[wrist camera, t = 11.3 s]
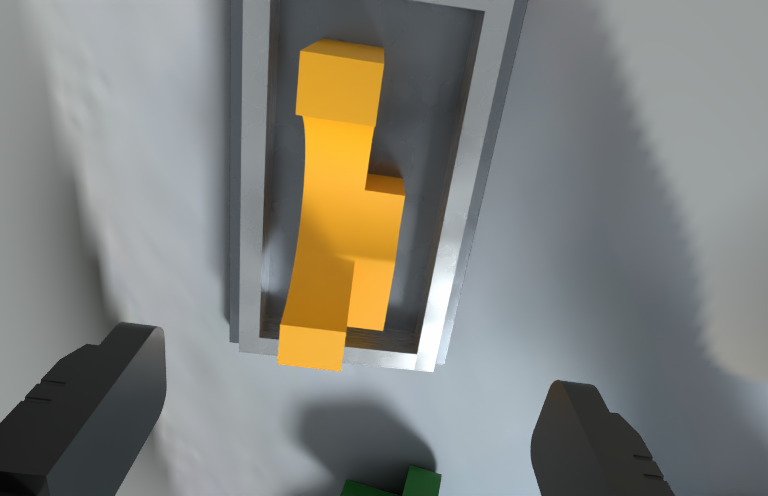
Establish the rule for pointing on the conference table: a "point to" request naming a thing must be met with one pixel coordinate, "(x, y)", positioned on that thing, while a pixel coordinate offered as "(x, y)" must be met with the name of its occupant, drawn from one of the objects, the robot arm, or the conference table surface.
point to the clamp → (417, 489)
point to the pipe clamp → (339, 208)
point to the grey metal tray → (387, 157)
